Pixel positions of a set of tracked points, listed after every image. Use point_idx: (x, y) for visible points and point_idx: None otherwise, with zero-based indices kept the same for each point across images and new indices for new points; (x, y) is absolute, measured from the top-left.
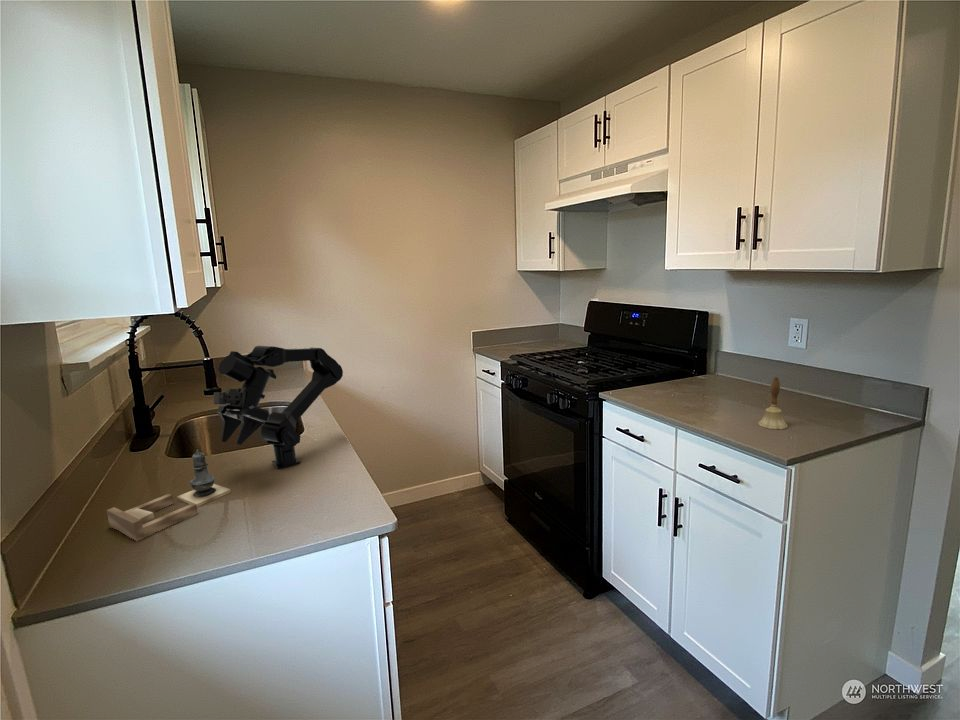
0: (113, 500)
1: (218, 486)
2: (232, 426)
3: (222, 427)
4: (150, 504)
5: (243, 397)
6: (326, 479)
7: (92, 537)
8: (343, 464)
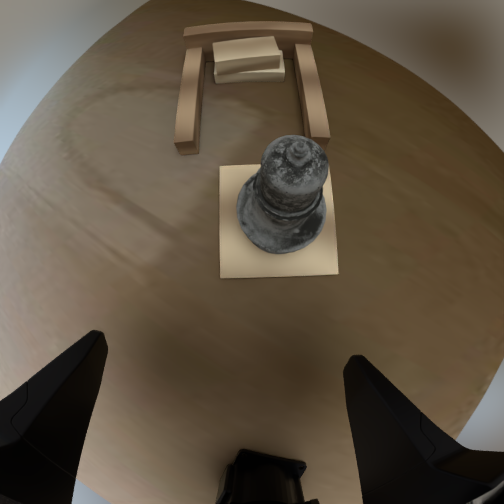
0: (438, 114)
1: (281, 270)
2: (378, 476)
3: (428, 419)
4: (304, 90)
5: None
6: None
7: None
8: (120, 497)
